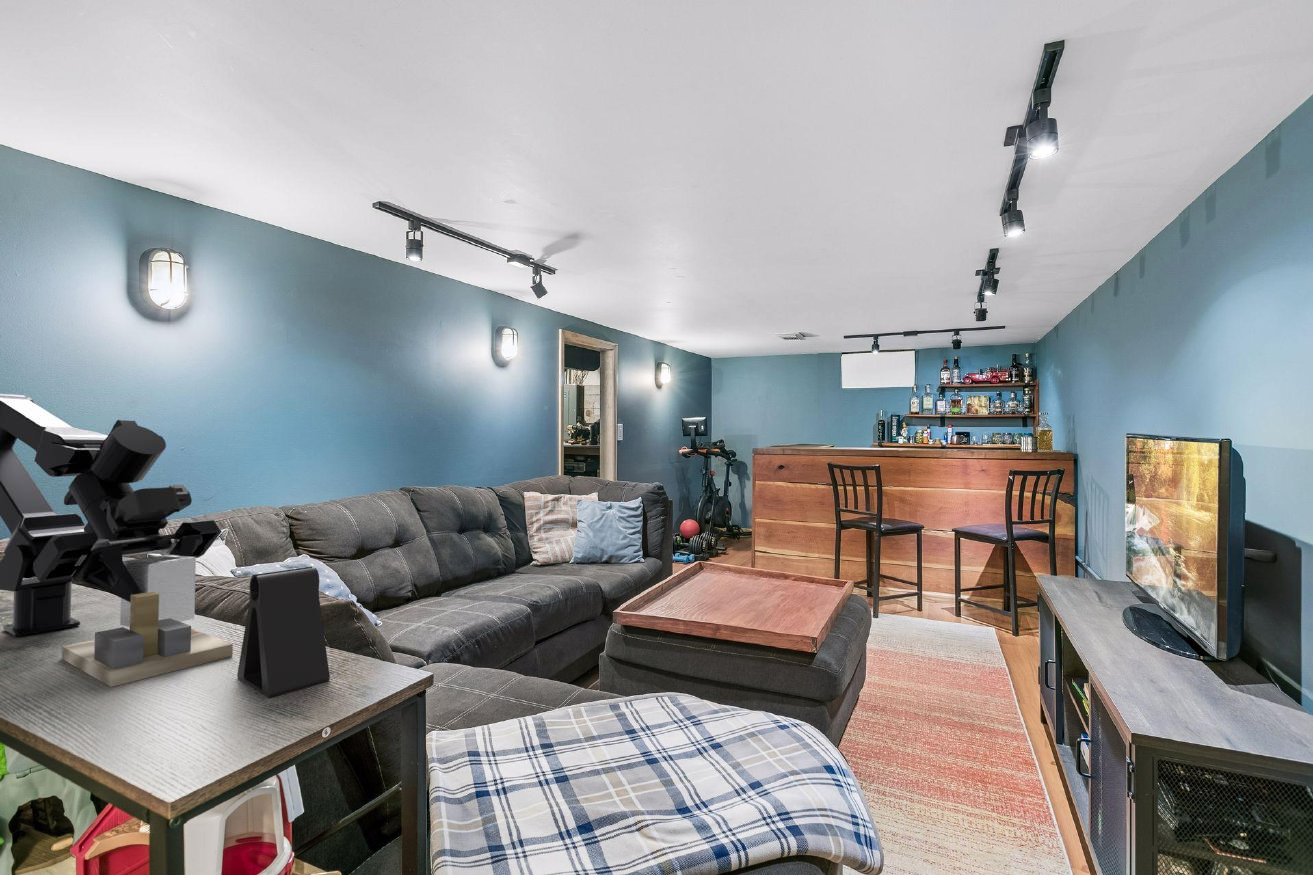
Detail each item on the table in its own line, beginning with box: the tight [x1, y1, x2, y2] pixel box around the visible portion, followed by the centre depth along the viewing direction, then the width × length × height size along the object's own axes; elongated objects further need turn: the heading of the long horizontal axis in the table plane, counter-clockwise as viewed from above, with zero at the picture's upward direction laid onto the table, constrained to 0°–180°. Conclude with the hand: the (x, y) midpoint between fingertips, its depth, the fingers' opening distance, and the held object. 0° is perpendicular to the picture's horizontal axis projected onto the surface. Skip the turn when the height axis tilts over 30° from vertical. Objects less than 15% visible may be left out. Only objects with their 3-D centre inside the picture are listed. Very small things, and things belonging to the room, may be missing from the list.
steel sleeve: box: [119, 555, 197, 628], centre depth 77 cm, size 5×5×8 cm
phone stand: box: [236, 566, 331, 699], centre depth 67 cm, size 9×6×12 cm, turn 52°
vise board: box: [61, 592, 234, 688], centre depth 73 cm, size 16×12×8 cm
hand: (165, 596), depth 77 cm, fingers open, 6 cm apart
